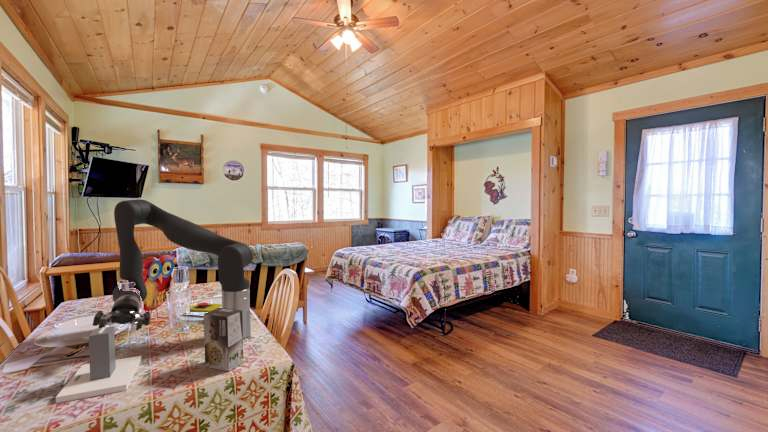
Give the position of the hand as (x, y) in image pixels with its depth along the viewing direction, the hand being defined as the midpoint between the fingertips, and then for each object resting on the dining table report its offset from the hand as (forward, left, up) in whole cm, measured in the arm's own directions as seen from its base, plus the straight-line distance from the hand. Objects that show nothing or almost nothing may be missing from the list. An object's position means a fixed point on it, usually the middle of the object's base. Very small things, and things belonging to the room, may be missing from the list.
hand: (120, 327), depth 104 cm
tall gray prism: (+2, +10, -9) cm, 14 cm away
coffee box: (-28, +14, -11) cm, 33 cm away
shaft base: (+2, +10, -11) cm, 15 cm away
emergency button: (-21, -41, -11) cm, 47 cm away
